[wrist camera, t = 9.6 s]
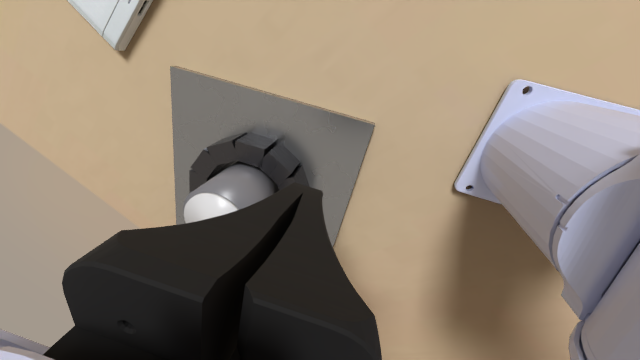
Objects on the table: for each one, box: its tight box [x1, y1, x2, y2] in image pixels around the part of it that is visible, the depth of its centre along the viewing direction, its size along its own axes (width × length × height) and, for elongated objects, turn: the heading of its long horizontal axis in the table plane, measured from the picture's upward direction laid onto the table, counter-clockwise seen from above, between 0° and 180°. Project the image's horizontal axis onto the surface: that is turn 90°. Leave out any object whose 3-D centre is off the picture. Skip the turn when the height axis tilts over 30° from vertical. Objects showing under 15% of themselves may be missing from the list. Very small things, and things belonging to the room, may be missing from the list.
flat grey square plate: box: [170, 66, 375, 247], centre depth 22 cm, size 16×16×3 cm
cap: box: [183, 161, 279, 223], centre depth 19 cm, size 5×5×6 cm
